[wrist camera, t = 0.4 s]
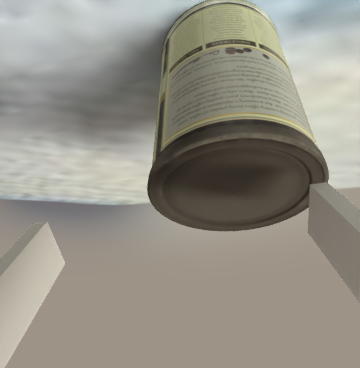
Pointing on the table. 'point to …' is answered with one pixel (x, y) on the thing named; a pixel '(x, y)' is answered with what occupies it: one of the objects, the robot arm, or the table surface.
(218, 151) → the coffee can
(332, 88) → the table surface
